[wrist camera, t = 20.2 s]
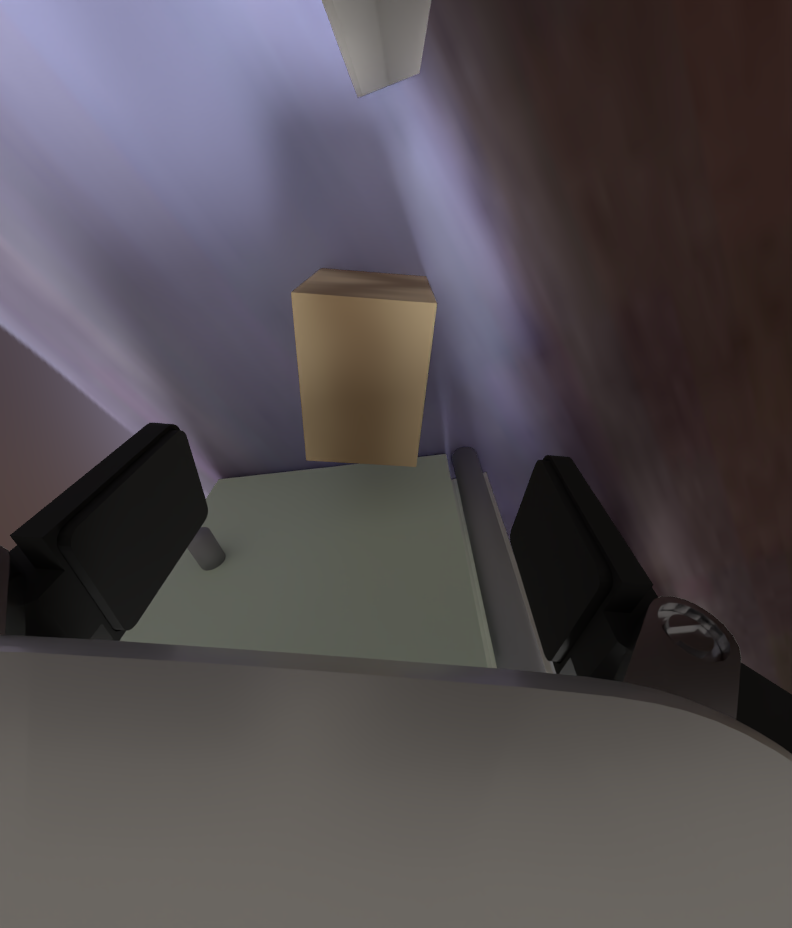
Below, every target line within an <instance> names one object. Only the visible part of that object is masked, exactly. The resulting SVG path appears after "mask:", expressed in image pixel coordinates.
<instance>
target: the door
mask: <svg viewBox="0 0 792 928" xmlns="http://www.w3.org/2000/svg"><path fill="white" fill-rule="evenodd" d="M452 461H453V465H454V470H455V475H456V479H457V484H458V489H459V493H460V498H461V503H462V507H463V512H464V517H465V521H466V526H467V531H468V535H469V540H470V545H471V549H472V554H473V559H474V563H475V568H476V573H477V577H478V582H479V587H480V591H481V596H482V601H483V605H484V610H485V615H486V619H487V624H488V629H489V633H490V638H491V642H492V647H493V652H494V656H495V661H496V666H497V668H499V669H510V670H521V671H531V672H542V673H546V670H545V666H544V663H543V660H542V657H541V654H540V651H539V648H538V644H537V641H536V638H535V635H534V632H533V629H532V626H531V622H530V619H529V616H528V613H527V610H526V607H525V604H524V600H523V597H522V594H521V591H520V588H519V585H518V582H517V578H516V575H515V572H514V569H513V566H512V563H511V560H510V556H509V553H508V550H507V547H506V544H505V541H504V538H503V535H502V531H501V528H500V525H499V522H498V519H497V516H496V513H495V509H494V506H493V503H492V500H491V497H490V494H489V491H488V487H487V484H486V481H485V478H484V475H483V472H482V469H481V465H480V462H479V459H478V456H477V453H476V451H475V450H474V449H473V448H471V447H461V448H459V449H457V450H456V451H455V452H454V453H453V455H452ZM206 502H207V506H208V515H207V518H206V520H205V522H204V523H203V525H202V526H201V528H200V529H199V531H198V532H197V534H196V535H195V537H194V538H193V540H192V541H191V543H190V544H189V546H188V547H187V549H186V550H185V552H184V553H183V555H182V556H181V558H180V559H179V561H178V562H177V564H176V565H175V567H174V568H173V570H172V571H171V573H170V574H169V576H168V577H167V579H166V580H165V582H164V583H163V585H162V586H161V588H160V589H159V591H158V593H157V594H156V596H155V597H154V599H153V600H152V602H151V603H150V605H149V606H148V608H147V609H146V611H145V612H144V614H143V615H142V617H141V618H140V620H139V621H138V623H137V624H136V625H135V626H134V627H133V628H132V629H131V630H127V631H126V632H125V634H124V635H123V637H122V638H121V639H120V641H126V642H141V643H156V644H171V645H186V646H201V647H216V648H231V649H245V650H258V651H272V652H286V653H300V654H314V655H328V656H342V657H355V658H369V659H383V660H395V661H408V662H421V663H434V664H447V665H460V666H473V667H486V668H488V667H487V662H486V656H485V651H484V646H483V641H482V636H481V631H480V626H479V620H478V615H477V610H476V605H475V600H474V595H473V590H472V585H471V579H470V574H469V569H468V564H467V559H466V554H465V549H464V543H463V538H462V533H461V528H460V523H459V518H458V513H457V507H456V502H455V497H454V492H453V487H452V482H451V477H450V471H449V466H448V461H447V456H446V454H441V455H432V456H423V457H417V465H416V467H408V466H391V465H374V464H352V465H343V466H334V467H325V468H316V469H307V470H298V471H289V472H280V473H271V474H262V475H254V476H245V477H236V478H227V479H219V480H218V481H217V483H216V484H215V486H214V487H213V489H212V490H211V492H210V493H209V495H208V496H207V498H206Z"/></svg>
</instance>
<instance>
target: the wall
mask: <svg viewBox="0 0 792 928" xmlns="http://www.w3.org/2000/svg"><path fill="white" fill-rule="evenodd" d="M322 3H323V5H324V8H325V11H326V13H327V16H328V19H329V21H330V24H331V27H332V30H333V32H334V35H335V38H336V40H337V43H338V46H339V48H340V51H341V54H342V57H343V59H344V62H345V65H346V67H347V70H348V73H349V75H350V78H351V81H352V84H353V86H354V89H355V92H356V94H357V97H358V98H359V97H362V96H364V95H367V94H369V93H372V92H374V91H377V90H379V89H382V88H384V87H387V86H389V85H392V84H394V83H397V82H399V81H402V80H404V79H407V78H409V77H412V76H414V75H417V74H419V73H420V67H421V60H422V54H423V48H424V42H425V36H426V30H427V23H428V17H429V11H430V5H431V0H322ZM483 475H484V478H485V481H486V484H487V487H488V491H489V494H490V497H491V500H492V503H493V506H494V509H495V513H496V516H497V519H498V522H499V525H500V528H501V531H502V535H503V538H504V541H505V544H506V547H507V550H508V553H509V556H510V560H511V563H512V566H513V569H514V572H515V575H516V578H517V582H518V585H519V588H520V591H521V594H522V597H523V600H524V604H525V607H526V610H527V613H528V616H529V619H530V622H531V626H532V629H533V632H534V635H535V638H536V641H537V644H538V648H539V651H540V654H541V657H542V660H543V663H544V666H545V670H546V673H552V674H553V671H552V668H551V665H550V662H549V661H548V660H547V659H546V657H545V655H544V652H543V649H542V646H541V642H540V639H539V636H538V632H537V629H536V626H535V622H534V619H533V616H532V613H531V609H530V606H529V603H528V599H527V596H526V593H525V589H524V586H523V583H522V579H521V576H520V573H519V569H518V566H517V563H516V560H515V557H514V554H513V551H512V548H511V545H510V542H509V539H508V536H507V533H506V530H505V527H504V524H503V521H502V518H501V515H500V512H499V509H498V506H497V503H496V500H495V497H494V494H493V491H492V488H491V485H490V482H489V479H488V476H487V473H486V472H485V473H483ZM451 482H452V487H453V492H454V497H455V502H456V507H457V513H458V518H459V523H460V528H461V533H462V538H463V543H464V549H465V554H466V559H467V564H468V569H469V574H470V579H471V585H472V590H473V595H474V600H475V605H476V610H477V615H478V620H479V626H480V631H481V636H482V641H483V646H484V651H485V656H486V662H487V667H488V668H497V666H496V661H495V656H494V652H493V647H492V642H491V638H490V633H489V629H488V624H487V619H486V615H485V610H484V605H483V601H482V596H481V591H480V587H479V582H478V577H477V573H476V568H475V563H474V559H473V554H472V549H471V545H470V540H469V535H468V531H467V526H466V521H465V517H464V512H463V507H462V503H461V498H460V493H459V489H458V484H457V479H452V480H451Z"/></svg>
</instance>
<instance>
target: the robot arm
mask: <svg viewBox="0 0 792 928" xmlns="http://www.w3.org/2000/svg"><path fill="white" fill-rule="evenodd" d="M207 515H208V506H207V502H206V499H205V496H204V492H203V489H202V486H201V482H200V479H199V476H198V472H197V469H196V466H195V462H194V459H193V456H192V452H191V449H190V446H189V442H188V439H187V436H186V434H185V432H184V431H181V430H180V429H179V428H178V426H176V425H174V424H163V423H149V424H147V425H146V426H145V427H143V428H142V429H141V430H140V431H138V432H137V433H136V434H135V435H133V436H132V437H131V438H130V439H128V440H127V441H126V442H125V443H124V444H122V445H121V446H120V447H119V448H117V449H116V450H115V451H114V452H112V453H111V454H110V455H109V456H107V457H106V458H105V459H104V460H103V461H101V462H100V463H99V464H98V465H96V466H95V467H94V468H93V469H91V470H90V471H89V472H88V473H86V474H85V475H84V476H83V477H82V478H80V479H79V480H78V481H77V482H75V483H74V484H73V485H72V486H70V487H69V488H68V489H67V490H65V491H64V492H63V493H62V494H61V495H59V496H58V497H57V498H56V499H54V500H53V501H52V502H51V503H49V504H48V505H47V506H46V507H44V508H43V509H42V510H41V511H39V512H38V513H37V514H36V515H35V516H33V517H32V518H31V519H30V520H28V521H27V522H26V523H25V524H23V525H22V526H21V527H20V528H18V529H17V530H16V531H15V532H14V533H12V534H11V535H10V536H11V537H12V539H13V540H14V541H15V543H16V544H17V546H16V547H15V548H13V549H12V550H11V551H10V552H9V551H8V550H7V549H5V548H3V547H2V546H0V928H792V695H791V694H790V693H788V692H787V691H785V690H784V689H782V688H780V687H779V686H777V685H776V684H774V683H772V682H771V681H769V680H768V679H766V678H765V677H763V676H761V675H760V674H758V673H757V672H755V671H754V670H752V669H750V668H749V667H747V666H746V665H744V664H742V663H741V654H740V648H739V646H738V644H737V642H736V640H735V638H734V636H733V635H732V634H731V633H730V631H729V630H728V629H727V628H726V627H725V625H724V624H723V623H721V622H720V621H719V620H718V619H717V618H716V617H714V616H713V615H712V614H711V613H709V612H708V611H706V610H705V609H703V608H701V607H700V606H698V605H696V604H694V603H692V602H690V601H687V600H685V599H681V598H677V597H673V596H661V597H659V598H658V596H657V595H656V593H655V591H654V590H653V588H652V586H653V584H652V582H651V581H650V579H649V577H648V576H647V574H646V573H645V571H644V570H643V568H642V567H641V565H640V564H639V562H638V561H637V559H636V557H635V556H634V554H633V553H632V551H631V550H630V548H629V547H628V545H627V544H626V542H625V541H624V539H623V537H622V536H621V534H620V533H619V531H618V530H617V528H616V527H615V525H614V524H613V522H612V521H611V519H610V517H609V516H608V514H607V513H606V511H605V510H604V508H603V507H602V505H601V504H600V502H599V501H598V499H597V497H596V496H595V494H594V493H593V491H592V490H591V488H590V487H589V485H588V484H587V482H586V481H585V479H584V477H583V476H582V474H581V473H580V471H579V470H578V468H577V467H576V465H575V464H574V462H573V460H572V459H571V458H570V457H563V456H551V455H547V456H545V457H544V458H543V460H538V461H537V462H536V464H535V467H534V469H533V472H532V475H531V478H530V480H529V483H528V486H527V489H526V491H525V494H524V497H523V500H522V502H521V505H520V508H519V510H518V513H517V516H516V519H515V521H514V524H513V527H512V530H511V534H510V542H511V546H512V549H513V553H514V556H515V559H516V563H517V566H518V569H519V573H520V576H521V579H522V583H523V586H524V589H525V593H526V596H527V599H528V603H529V606H530V609H531V613H532V616H533V619H534V622H535V626H536V629H537V632H538V636H539V639H540V642H541V646H542V649H543V652H544V655H545V657H546V659H547V660H548V661H552V662H553V665H554V668H555V671H556V674H552V673H542V672H531V671H521V670H510V669H499V668H486V667H473V666H460V665H447V664H434V663H421V662H408V661H395V660H383V659H369V658H355V657H342V656H328V655H314V654H300V653H286V652H272V651H258V650H245V649H231V648H216V647H201V646H186V645H171V644H156V643H141V642H126V641H120V639H121V638H122V637H123V635H124V634H125V632H126V631H127V630H131V629H132V628H133V627H134V626H135V625H136V624H137V623H138V621H139V620H140V618H141V617H142V615H143V614H144V612H145V611H146V609H147V608H148V606H149V605H150V603H151V602H152V600H153V599H154V597H155V596H156V594H157V593H158V591H159V589H160V588H161V586H162V585H163V583H164V582H165V580H166V579H167V577H168V576H169V574H170V573H171V571H172V570H173V568H174V567H175V565H176V564H177V562H178V561H179V559H180V558H181V556H182V555H183V553H184V552H185V550H186V549H187V547H188V546H189V544H190V543H191V541H192V540H193V538H194V537H195V535H196V534H197V532H198V531H199V529H200V528H201V526H202V525H203V523H204V522H205V520H206V518H207Z"/></svg>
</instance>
